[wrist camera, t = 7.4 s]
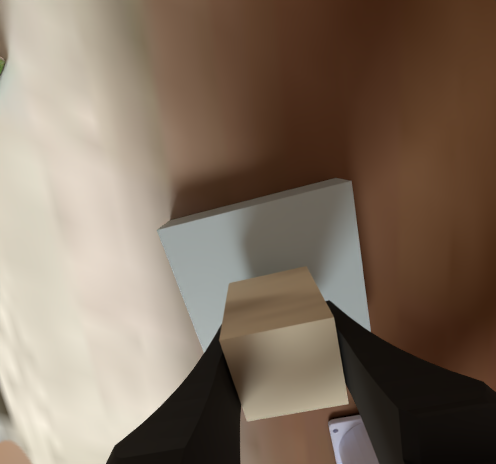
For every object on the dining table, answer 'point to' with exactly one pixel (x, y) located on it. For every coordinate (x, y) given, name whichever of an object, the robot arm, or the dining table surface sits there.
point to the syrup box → (1, 64)
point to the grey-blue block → (268, 249)
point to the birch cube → (282, 345)
